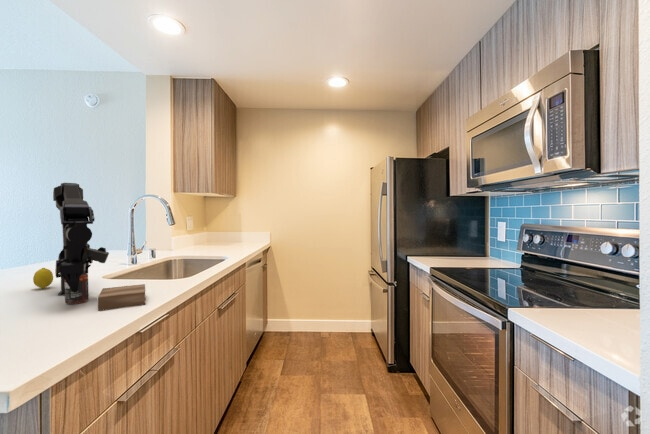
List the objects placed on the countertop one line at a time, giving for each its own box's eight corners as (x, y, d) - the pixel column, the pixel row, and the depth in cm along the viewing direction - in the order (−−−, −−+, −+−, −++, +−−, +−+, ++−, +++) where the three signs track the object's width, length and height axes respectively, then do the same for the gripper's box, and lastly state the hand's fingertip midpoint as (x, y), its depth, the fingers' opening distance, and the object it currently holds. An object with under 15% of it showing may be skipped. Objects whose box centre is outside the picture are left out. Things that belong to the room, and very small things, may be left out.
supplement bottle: (86, 298, 102) (85, 265, 102) (91, 301, 98) (90, 267, 98) (62, 302, 97) (62, 267, 97) (67, 306, 94) (66, 269, 93)
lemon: (50, 286, 118) (49, 265, 117) (55, 288, 115) (55, 267, 115) (31, 289, 113) (30, 268, 113) (36, 291, 110) (36, 269, 110)
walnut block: (102, 300, 100) (102, 288, 100) (145, 295, 106) (145, 284, 106) (97, 311, 89) (97, 297, 89) (145, 304, 95) (144, 292, 95)
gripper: (103, 243, 93) (104, 293, 94) (109, 238, 109) (110, 281, 110) (56, 245, 88) (57, 298, 88) (70, 239, 104) (70, 284, 104)
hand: (76, 289), depth 98 cm, fingers closed on supplement bottle, 6 cm apart
